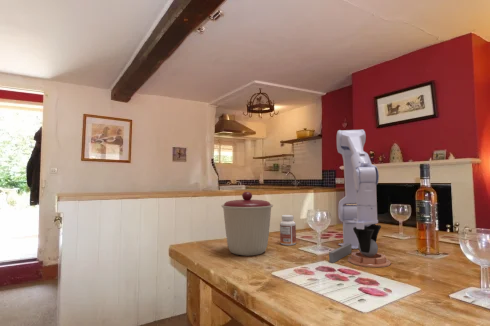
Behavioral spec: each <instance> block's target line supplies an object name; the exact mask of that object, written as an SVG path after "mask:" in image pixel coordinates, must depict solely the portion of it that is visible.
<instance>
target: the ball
mask: <svg viewBox="0 0 490 326" xmlns="http://www.w3.org/2000/svg"><path fill="white" fill-rule="evenodd" d="M358 247H359V248H358V251H360V252H361V249H360V245H359V246H358ZM378 251H379V247H378V244H377V241H376V242H375V241H374V240H372V239H371V243H370V251H369V253H366V252H361V254H363V255H364V256H366V257H372V256H374V255H375V254H376V253H378Z"/></svg>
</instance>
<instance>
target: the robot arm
mask: <svg viewBox="0 0 490 326" xmlns="http://www.w3.org/2000/svg"><path fill="white" fill-rule="evenodd" d="M366 137H367V135H366V131H365V129H346V130H341V129H339V130H337V132H336V149H337V153H338V154H340V155H341V156H342V161H343V176H344V192H345V194H344V195H345V196H344V197H343V198H341V199H340V200H339V202H338V207H337V214H338V220H339V221H340V222H342V241H343V242H341V243H338V244H337V245H338V246H340V247H341V246H343V245H346V244H348V243H349V244H351V248H352V249H353V250H355V249H356V250H357V249H359V247H358V246H359V245H360V249H361V252H366V253H369V251H370V243H371V239H372V240H374V241H375V242H376V243H377V239H378V235H379V232H380V231H381V227H382V225H381V224H378V223H379V219H378V202H377V200H378V199H377V198H378V197H377V185H378V184H379V180H380V179H379V177H380V176H379V175H380V174H379V169H378V166H377V165H375V164H372V161H371V158H370V155H369V154H368V152H366V151H364V147H365V143H366Z"/></svg>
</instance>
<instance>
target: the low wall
mask: <svg viewBox="0 0 490 326" xmlns="http://www.w3.org/2000/svg"><path fill="white" fill-rule="evenodd" d="M352 252H353V251H352V248H351V244H349V243H348V244H346V245H343V246H341V245H340V247H338V248H335V249H334V250H331V251H329V252H328V261H329V262H328V263H331V264H334V263H336V262H338V261H339V260H341V259H343V258H345V257H346V256H348V255H350V254H352Z"/></svg>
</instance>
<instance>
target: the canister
mask: <svg viewBox="0 0 490 326" xmlns="http://www.w3.org/2000/svg"><path fill="white" fill-rule="evenodd" d="M241 198H242V199H233V200H227V201H226V202H224V204H222V205H221V208H222V209H223V218H224V226H225V235H226V243H227V248H228V250H229V252H230V253H232V254H234V255H236V256H243V257H244V256H247V257H248V256H249V257H251V256H257V255H261V254H264V252H266V250H267V247H268V241H269V235H270V228H271V227H270V226H271V214H272V208H273V206H274V204H271V203H270V202H269V201H267V200H262V199H252V198H253V194H252V192H250V191H244V192H243V193H242V194H241Z"/></svg>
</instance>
